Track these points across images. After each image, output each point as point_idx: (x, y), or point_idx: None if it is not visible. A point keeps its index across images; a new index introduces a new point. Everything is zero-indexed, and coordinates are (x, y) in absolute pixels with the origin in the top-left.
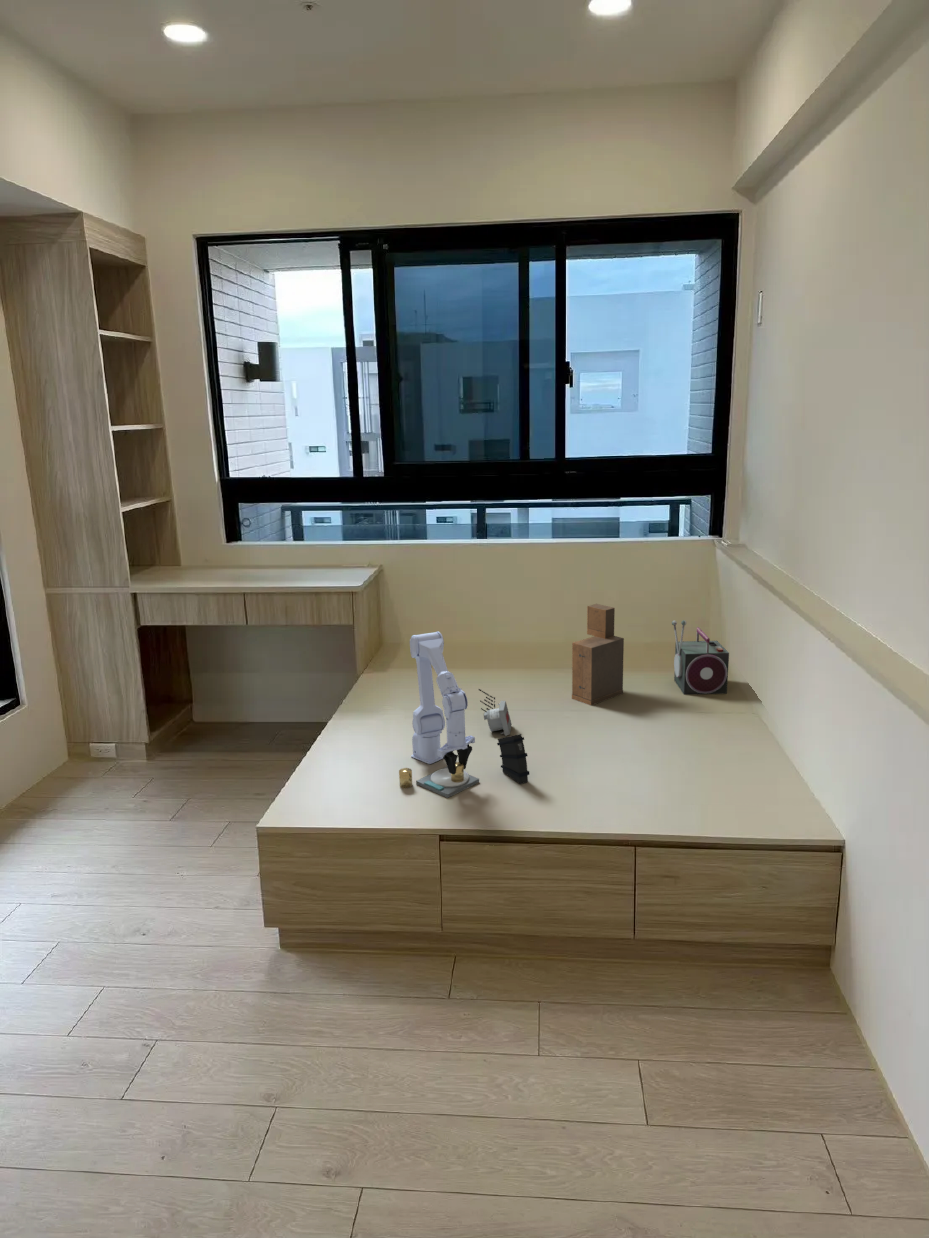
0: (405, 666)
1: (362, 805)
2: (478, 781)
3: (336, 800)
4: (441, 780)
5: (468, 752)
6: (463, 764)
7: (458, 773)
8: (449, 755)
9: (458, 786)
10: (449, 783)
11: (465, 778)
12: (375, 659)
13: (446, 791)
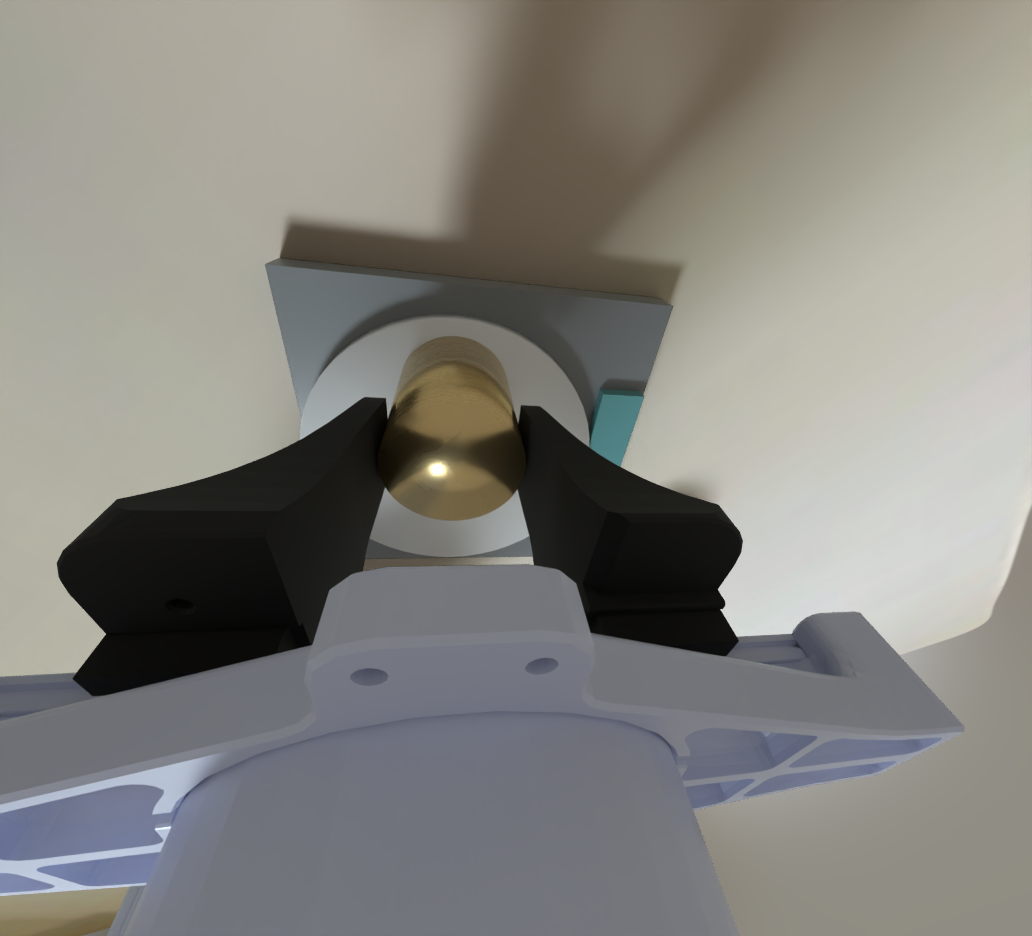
0: (19, 922)
1: (838, 556)
2: (285, 260)
3: None
4: None
5: (265, 490)
6: (395, 423)
7: (495, 384)
8: (695, 591)
9: (512, 323)
10: (545, 395)
11: (392, 350)
12: (92, 931)
13: (631, 345)
